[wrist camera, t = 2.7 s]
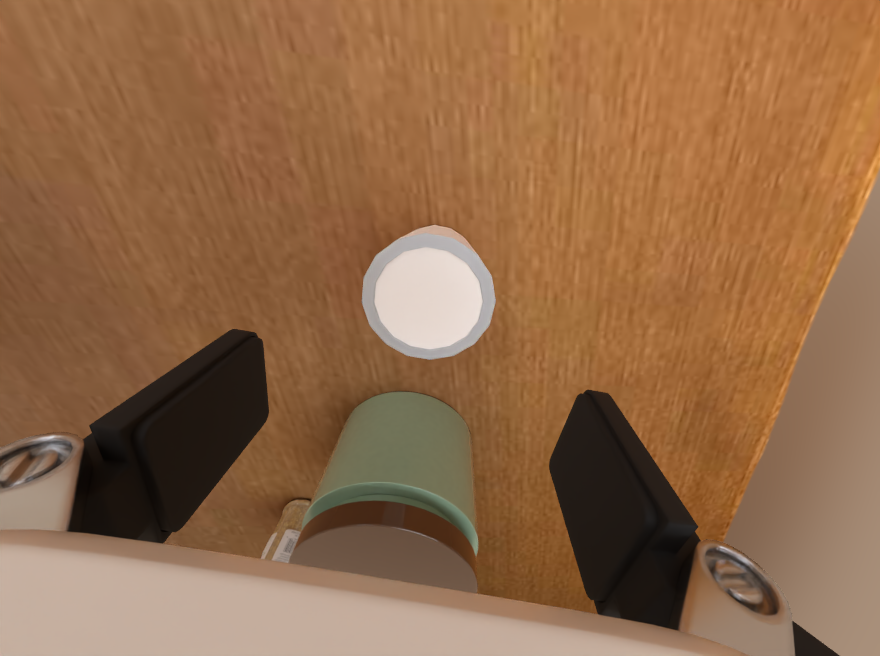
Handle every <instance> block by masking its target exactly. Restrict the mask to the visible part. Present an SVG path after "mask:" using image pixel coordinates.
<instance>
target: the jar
mask: <svg viewBox="0 0 880 656" xmlns="http://www.w3.org/2000/svg"><path fill="white" fill-rule="evenodd" d="M477 551H478V530H477V514H476V498H475V481H474V465H473V449H472V438H471V434H470V431H469V429H468V426H467V424H466V423H465V421H464V420H463V419H462V417H461V416H460V415H459V414H458V413H457V412H456V411H455V410H454V409H452V408H451V407H450V406H448V405H447V404H445V403H444V402H442V401H440V400H438V399H436V398H433V397H430V396H428V395H424V394H420V393H414V392H389V393H384V394H380V395H377V396H374V397H372V398H370V399H368V400H366V401H364V402H363V403H361V404H360V405H358V406H357V407H356V408H355V409H354V410H353V411H352V412H351V414H350V415H349V417H348V418H347V420H346V422H345V424H344V427H343V429H342V431H341V433H340V436H339V438H338V440H337V443H336V445H335V447H334V449H333V452H332V454H331V456H330V459H329V461H328V463H327V465H326V468H325V470H324V472H323V474H322V477H321V479H320V481H319V484H318V486H317V488H316V490H315V493H314V495H313V497H312V499H311V502H310V504H309V506H308V509H307V511H306V513H305V516H304V518H303V521H302V531H301V533H300V535H299V537H298V540H297V542H296V544H295V547H294V549H293V551H292V554H291V556H290V559H289V562H288V563H291V564H298V565H304V566H310V567H316V568H323V569H329V570H335V571H341V572H348V573H354V574H360V575H366V576H372V577H379V578H385V579H391V580H397V581H403V582H409V583H415V584H422V585H428V586H434V587H440V588H446V589H452V590H458V591H464V592H470V593H476V594H477V587H478V583H477V565H476V555H477Z"/></svg>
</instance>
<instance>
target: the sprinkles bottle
mask: <svg viewBox="0 0 880 656" xmlns="http://www.w3.org/2000/svg"><path fill="white" fill-rule="evenodd" d="M310 502H311V501H308V500H294V501H291V502H290V503H288V504H287V505H286V506H285V508H284V510H283V514H282V516H281V518H280V520H279V523H278V525H277V526H276V529H275V531H274V532H273V534H272V536H271V537H270V539H269V541H268V543H267V545H266V547H265V549H264V551H263V553H262V555H261V557H260V559H266V560H272V561H278V562H285V563H288V562H289V559H290V556H291V554H292V551H293V549H294V547H295V544H296V542H297V540H298V537H299V535H300V533H301V531H302V521H303V518H304V516H305V513H306V511H307V509H308V506H309V504H310Z"/></svg>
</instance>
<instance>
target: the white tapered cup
mask: <svg viewBox="0 0 880 656" xmlns="http://www.w3.org/2000/svg"><path fill="white" fill-rule="evenodd" d="M495 302H496V300H495V294H494V287H493V281H492V276H491V274H490V273H489V271H488V270H487V268H486V267H485V265H484V264H483V262H482V261H481V259H480V258H479V256H478V254H477V253H476V252H475V250H474V249H473V248H472V247H471V245H470V244H469V243H468V241H467V240H466V239H465V238H464V237H463V236H462V235H460V234H459V233H457V232H456V231H454V230H453V229H451V228H448V227H442V226H437V225H432V226H427V227H423V228H419V229H416V230H414V231H413V232H411V233H409V234H407V235H405V236H403V237H401V238H399V239H397V240H396V241H394V242H393V243H392V244H390V245H389V246H388V247H386V248H385V249H384V250H382V251H381V252H380V253H378V254H377V255H376V256H375V258H374V260H373V262H372V263H371V265H370V267H369V269H368V271H367V272H366V274H365V276H364V280H363V293H362V304H363V307H364V310H365V313H366V316H367V319H368V322H369V325H370V326H371V327H372V328H373V330H374V331H375V332H376V333H377V334H378V335H379V337H380V338H381V339H382V340H383V341H384V342H385V344H387V345H389V346H391V347H392V348H394V349H396V350H398V351H400V352H401V353H403V354H405V355H407V356H412V357H418V358H424V359H430V360H431V359H437V358H443V357H449V356H454V355H456V354H458V353H459V352H461V351H463V350H465V349H466V348H468V347H470V346H472V345H473V344H475V343H476V341H477V340H478V339H479V338H480V336H481V335H482V334H483V333H484V331H485V330H486V329H487V327H488V326H489V325H490V321H491V317H492V314H493V310H494V306H495Z"/></svg>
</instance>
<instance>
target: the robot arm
mask: <svg viewBox="0 0 880 656" xmlns="http://www.w3.org/2000/svg"><path fill="white" fill-rule="evenodd" d="M268 414H269V407H268V395H267V383H266V372H265V360H264V348H263V341H262V339H260V338H258V336H257V334H256V333H254V332H249V331H244V330H238V329H232V330H230V331H228V332H227V333H225V334H224V335H222V336H221V337H219V338H218V339H217V340H215V341H214V342H212V343H211V344H209V345H208V346H206V347H205V348H203V349H202V350H200V351H199V352H197V353H196V354H194V355H193V356H191V357H190V358H188V359H187V360H185V361H184V362H182V363H181V364H179V365H178V366H177V367H175V368H174V369H172V370H171V371H169V372H168V373H166V374H165V375H163V376H162V377H160V378H159V379H157V380H156V381H154V382H153V383H151V384H150V385H148V386H147V387H145V388H144V389H142V390H141V391H140V392H138V393H137V394H135V395H134V396H132V397H131V398H129V399H128V400H126V401H125V402H123V403H122V404H120V405H119V406H117V407H116V408H114V409H113V410H111V411H110V412H108V413H107V414H105V415H104V416H103V417H101V418H100V419H98V420H97V421H95V422H94V423H92V424H91V425H89V426H90V429H91V431H92V434H90V435H89V436H87V437H86V438H84V439H81V438H80V437H79V436H78V435H75V434H71V433H67V432H53V433H47V434H40V435H35V436H32V437H28V438H25V439H21V440H18V441H15V442H13V443H10V444H8V445H6V446H3V447H1V448H0V656H839V655H838V654H837V653H835V652H834V651H833V650H831V649H830V648H828V647H827V646H826V645H824V644H823V643H822V642H820V641H819V640H818V639H816V638H815V637H814V636H812V635H811V634H810V633H808V632H806V630H804V629H803V628H802V627H800V626H799V625H797V624H796V623H795V622H793V621H792V613H791V610H790V607H789V604H788V601H787V599H786V597H785V596H784V594H783V592H782V591H781V589H780V587H779V586H778V585H777V584H776V583H775V581H774V580H773V579H772V578H771V577H770V575H769V574H768V573H767V572H766V571H765V570H763V569H762V568H761V567H760V566H759V565H758V564H757V563H756V562H755V561H753V560H752V559H751V558H749V557H748V556H747V555H745V554H744V553H742V552H741V551H739V550H737V549H735V548H734V547H732V546H730V545H728V544H726V543H723V542H720V541H717V540H708V539H706V540H703V541H700V539H699V537H698V536H697V534H696V533H695V530H696V529H697V528H698V526H697V524H696V523H695V521H694V520H693V518H692V517H691V515H690V514H689V512H688V511H687V509H686V508H685V506H684V505H683V503H682V502H681V500H680V499H679V497H678V496H677V494H676V493H675V491H674V490H673V488H672V487H671V485H670V484H669V482H668V481H667V479H666V478H665V476H664V475H663V473H662V472H661V470H660V469H659V467H658V466H657V464H656V463H655V461H654V460H653V459H652V457H651V456H650V454H649V453H648V451H647V450H646V448H645V447H644V445H643V444H642V442H641V441H640V439H639V438H638V436H637V435H636V433H635V432H634V430H633V429H632V427H631V426H630V424H629V423H628V421H627V420H626V418H625V417H624V415H623V414H622V412H621V411H620V409H619V408H618V406H617V405H616V403H615V402H614V400H613V399H612V397H611V396H610V395H609V394H608V393H604V392H598V391H592V390H586V391H585V392H584V393H583V394H579V395H578V396H577V398H576V400H575V402H574V405H573V407H572V409H571V412H570V414H569V416H568V419H567V421H566V423H565V426H564V428H563V430H562V433H561V435H560V437H559V440H558V442H557V444H556V447H555V449H554V451H553V454H552V456H551V458H550V463H549V468H550V473H551V476H552V480H553V483H554V487H555V490H556V493H557V497H558V500H559V503H560V507H561V510H562V514H563V517H564V520H565V524H566V527H567V530H568V534H569V537H570V541H571V544H572V547H573V551H574V554H575V557H576V561H577V564H578V568H579V571H580V574H581V578H582V581H583V584H584V588H585V591H586V594H587V595H588V597H589V598H590V599H591V600H594V603H595V606H596V609H597V612H598V614H593V613H588V612H583V611H577V610H572V609H566V608H560V607H554V606H548V605H542V604H536V603H530V602H524V601H518V600H512V599H506V598H500V597H494V596H488V595H482V594H476V593H470V592H464V591H458V590H452V589H446V588H440V587H434V586H428V585H422V584H415V583H409V582H403V581H397V580H391V579H385V578H379V577H372V576H366V575H360V574H354V573H348V572H341V571H335V570H329V569H323V568H316V567H310V566H304V565H298V564H291V563H285V562H278V561H272V560H266V559H259V558H253V557H246V556H240V555H234V554H227V553H221V552H214V551H208V550H201V549H195V548H189V547H182V546H176V545H169V544H163V543H164V542H165V540H166V539H167V538H168V537H169V535H170V534H171V533H172V532H176V531H178V530H180V529H181V528H182V527H183V526H184V525H185V524H186V522H187V521H188V520H189V518H190V517H191V516H192V515H193V513H194V512H195V511H196V510H197V508H198V507H199V506H200V505H201V503H202V502H203V501H204V499H205V498H206V497H207V496H208V494H209V493H210V492H211V491H212V489H213V488H214V487H215V486H216V484H217V483H218V482H219V480H220V479H221V478H222V477H223V475H224V474H225V473H226V472H227V470H228V469H229V468H230V467H231V465H232V464H233V463H234V462H235V460H236V459H237V458H238V456H239V455H240V454H241V453H242V451H243V450H244V449H245V448H246V446H247V445H248V444H249V443H250V441H251V440H252V439H253V437H254V436H255V435H256V434H257V432H258V431H259V430H260V429H261V427H262V426H263V425H264V423H265V422H266V420H267V417H268Z"/></svg>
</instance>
